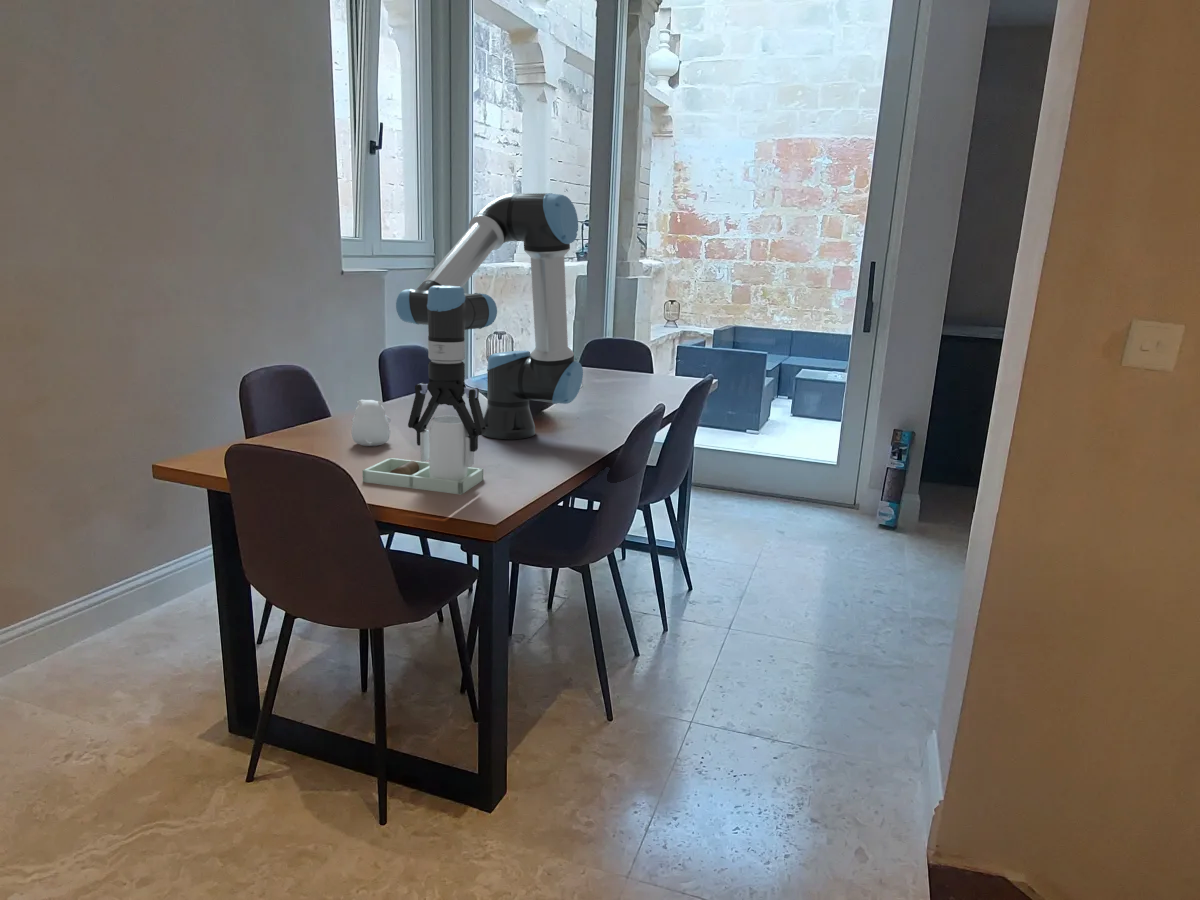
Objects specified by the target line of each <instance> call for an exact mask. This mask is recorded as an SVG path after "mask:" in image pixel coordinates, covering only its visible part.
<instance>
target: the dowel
mask: <svg viewBox="0 0 1200 900" xmlns="http://www.w3.org/2000/svg"><path fill="white" fill-rule="evenodd" d="M415 461H416V460H413V461H410V462H408V463H406V464H404V465H402V466H400V467H398V468H396V469H394V470H392V471H390V473H396V474H404V475H413V474H415V473H417V472H418V471H419V465H418V463H417V462H415Z"/></svg>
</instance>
